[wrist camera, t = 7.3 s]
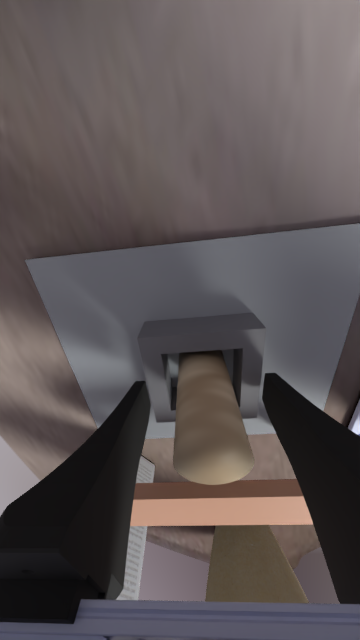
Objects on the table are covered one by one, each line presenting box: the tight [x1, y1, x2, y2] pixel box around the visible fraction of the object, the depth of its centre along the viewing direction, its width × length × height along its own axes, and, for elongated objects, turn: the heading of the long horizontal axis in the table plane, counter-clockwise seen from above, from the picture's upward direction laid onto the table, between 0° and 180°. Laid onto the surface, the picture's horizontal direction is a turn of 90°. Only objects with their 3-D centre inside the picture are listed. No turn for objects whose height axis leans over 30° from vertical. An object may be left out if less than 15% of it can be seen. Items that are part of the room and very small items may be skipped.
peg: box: [173, 350, 254, 485], centre depth 11 cm, size 3×3×7 cm
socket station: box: [25, 223, 360, 526], centre depth 12 cm, size 20×17×7 cm
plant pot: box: [205, 525, 309, 603], centre depth 20 cm, size 15×15×16 cm
